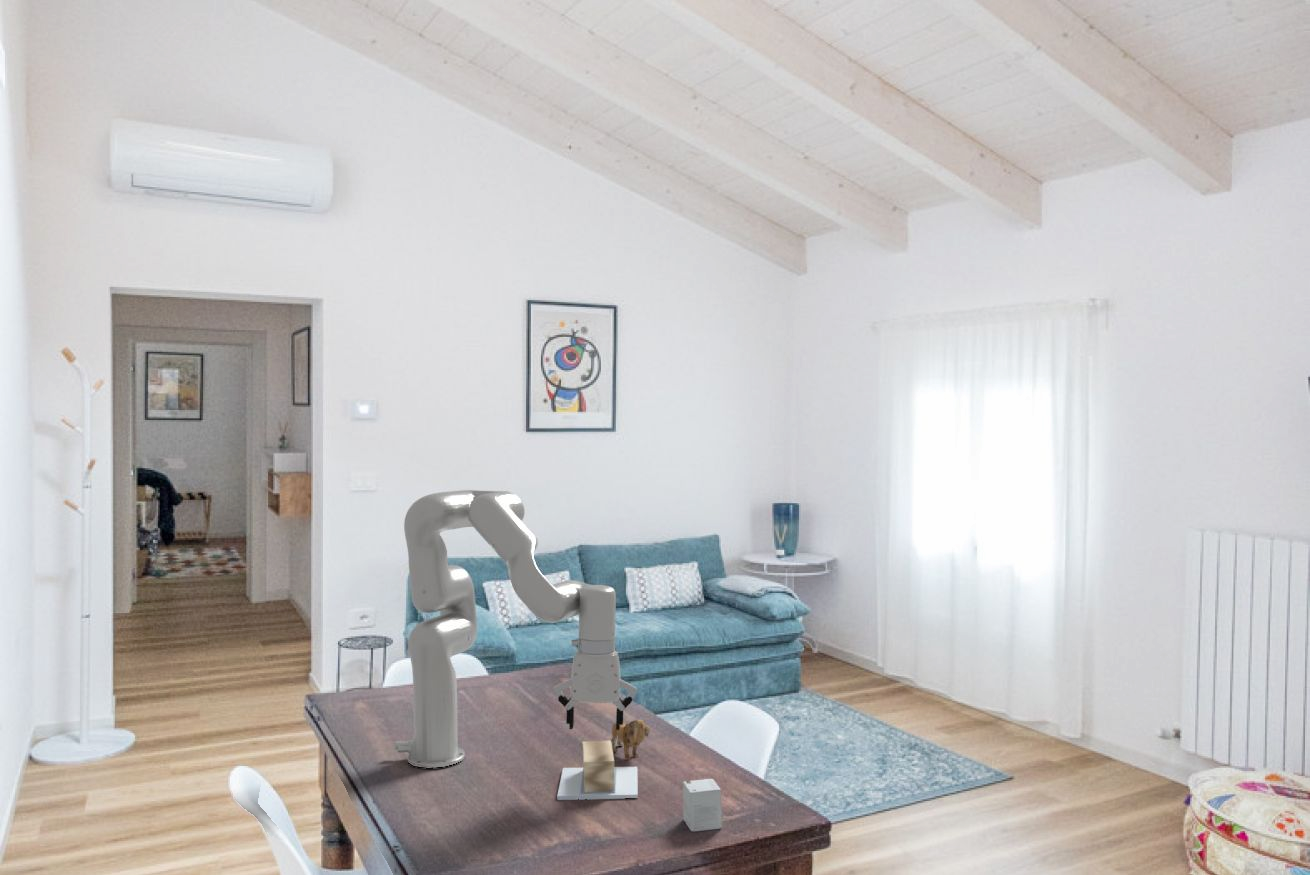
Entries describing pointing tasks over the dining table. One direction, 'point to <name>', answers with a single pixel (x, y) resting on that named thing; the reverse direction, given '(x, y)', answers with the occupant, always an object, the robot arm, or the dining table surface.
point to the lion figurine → (629, 736)
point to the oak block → (598, 766)
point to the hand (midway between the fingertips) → (594, 727)
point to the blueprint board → (574, 790)
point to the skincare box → (702, 805)
